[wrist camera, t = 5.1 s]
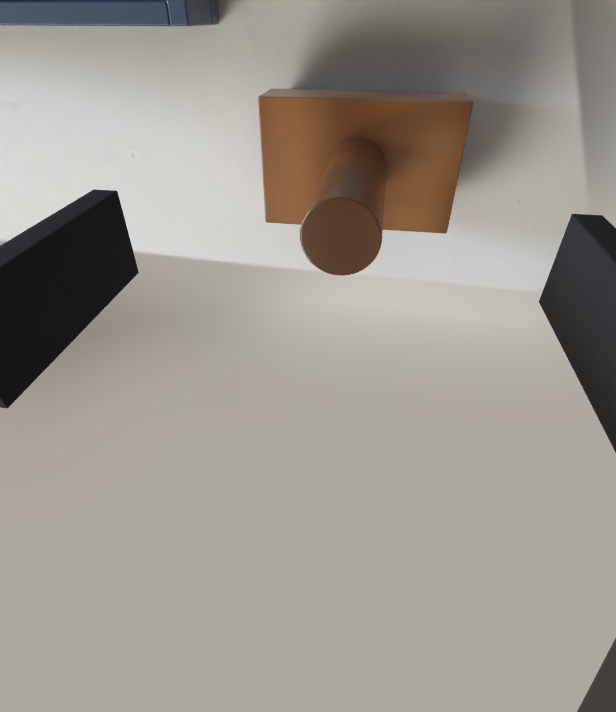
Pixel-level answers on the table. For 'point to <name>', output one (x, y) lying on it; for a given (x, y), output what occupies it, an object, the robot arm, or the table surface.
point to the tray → (109, 12)
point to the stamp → (360, 167)
